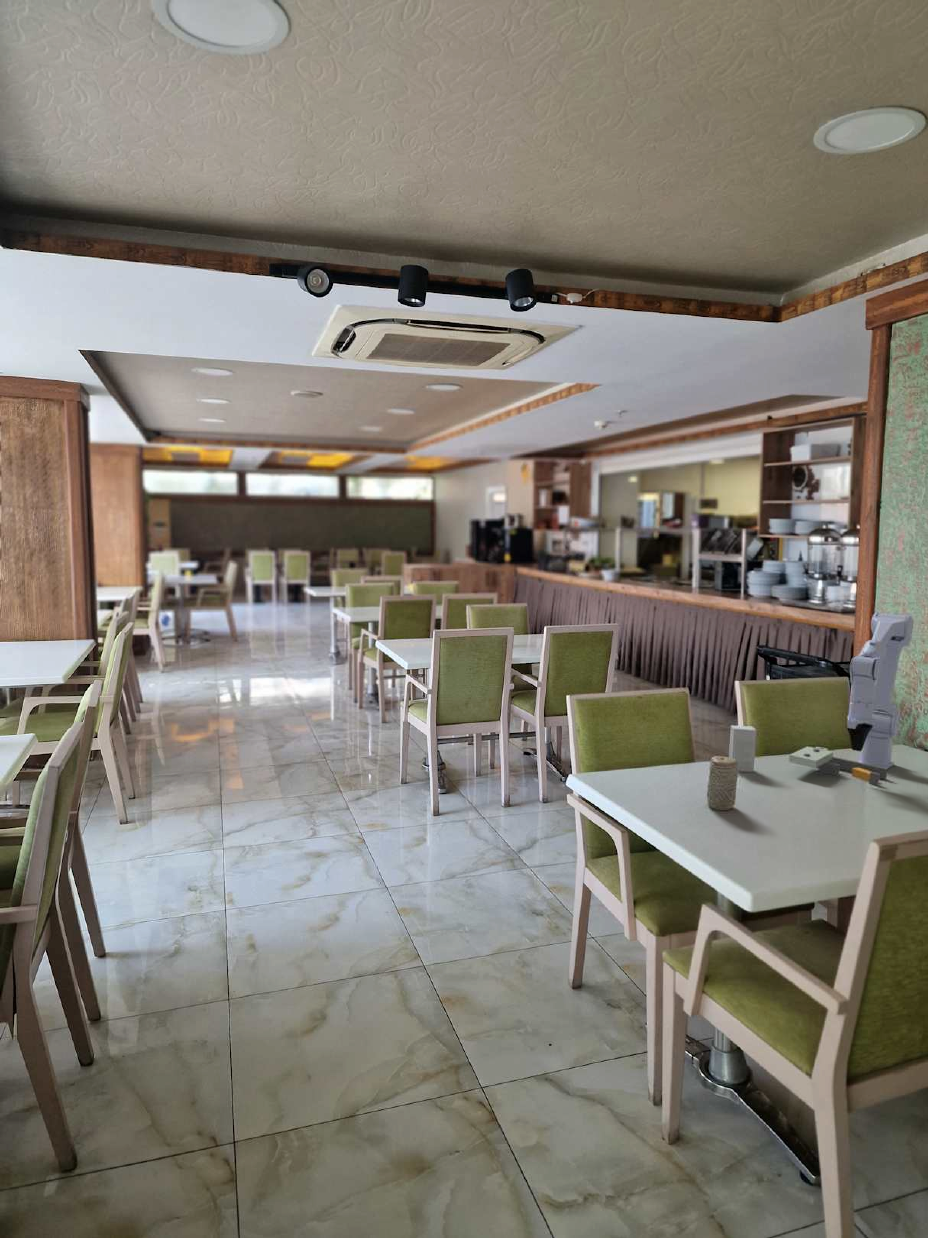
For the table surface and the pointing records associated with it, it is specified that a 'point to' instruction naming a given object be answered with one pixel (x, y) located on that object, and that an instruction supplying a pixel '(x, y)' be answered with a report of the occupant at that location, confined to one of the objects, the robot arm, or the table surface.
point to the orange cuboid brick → (861, 773)
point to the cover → (811, 756)
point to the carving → (722, 783)
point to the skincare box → (743, 747)
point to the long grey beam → (848, 765)
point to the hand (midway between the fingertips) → (856, 750)
